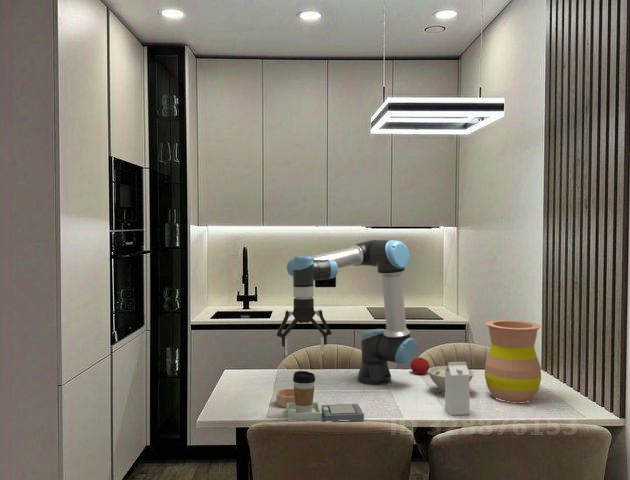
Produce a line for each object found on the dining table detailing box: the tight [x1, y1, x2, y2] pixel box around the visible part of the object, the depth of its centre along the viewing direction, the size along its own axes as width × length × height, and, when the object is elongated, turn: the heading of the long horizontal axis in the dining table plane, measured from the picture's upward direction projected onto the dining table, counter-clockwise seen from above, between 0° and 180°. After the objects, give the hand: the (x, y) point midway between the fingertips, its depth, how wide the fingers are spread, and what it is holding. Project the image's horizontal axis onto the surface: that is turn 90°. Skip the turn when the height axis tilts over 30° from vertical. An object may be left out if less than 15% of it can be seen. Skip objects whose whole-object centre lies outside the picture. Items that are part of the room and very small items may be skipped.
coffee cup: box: [292, 370, 316, 413], centre depth 208 cm, size 8×8×15 cm
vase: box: [484, 319, 542, 403], centre depth 229 cm, size 22×22×30 cm
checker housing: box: [321, 403, 365, 422], centre depth 206 cm, size 14×12×3 cm
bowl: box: [427, 365, 474, 395], centre depth 235 cm, size 19×19×10 cm
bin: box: [276, 388, 295, 409], centre depth 221 cm, size 11×11×4 cm
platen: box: [329, 404, 356, 415], centre depth 206 cm, size 9×9×1 cm
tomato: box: [410, 357, 430, 375], centre depth 266 cm, size 9×9×8 cm
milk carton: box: [444, 361, 471, 416], centre depth 211 cm, size 7×7×19 cm
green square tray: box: [286, 401, 323, 421], centre depth 208 cm, size 12×12×3 cm
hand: (304, 354), depth 208 cm, fingers open, 13 cm apart
